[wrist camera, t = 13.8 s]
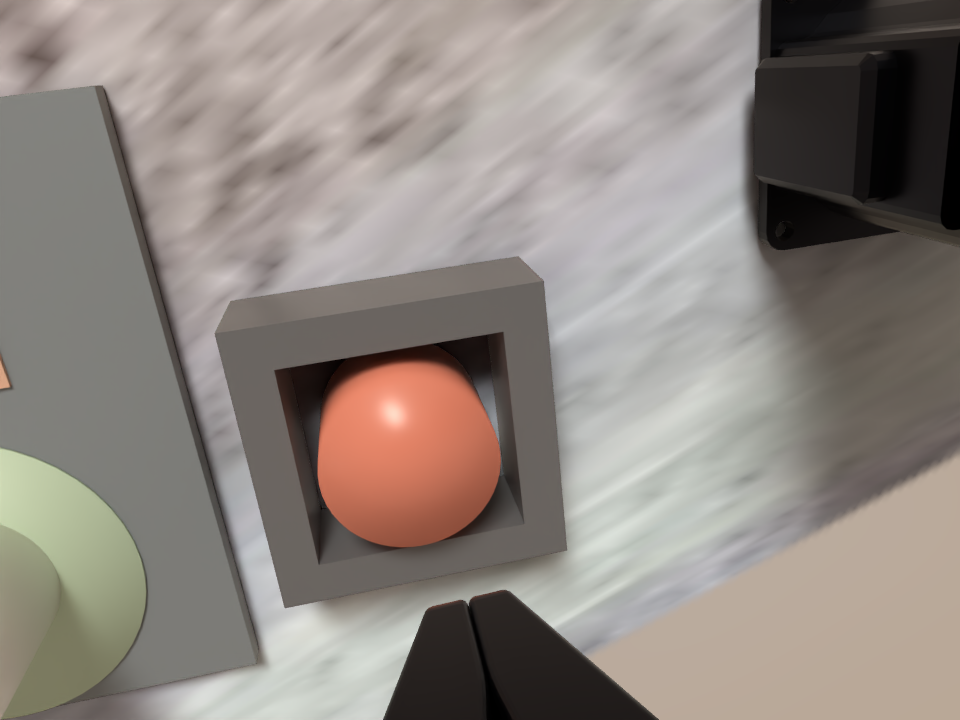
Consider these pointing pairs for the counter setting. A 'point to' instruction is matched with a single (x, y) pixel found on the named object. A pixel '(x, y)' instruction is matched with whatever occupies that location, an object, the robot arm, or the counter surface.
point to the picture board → (101, 423)
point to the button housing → (378, 328)
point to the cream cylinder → (23, 607)
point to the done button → (405, 447)
